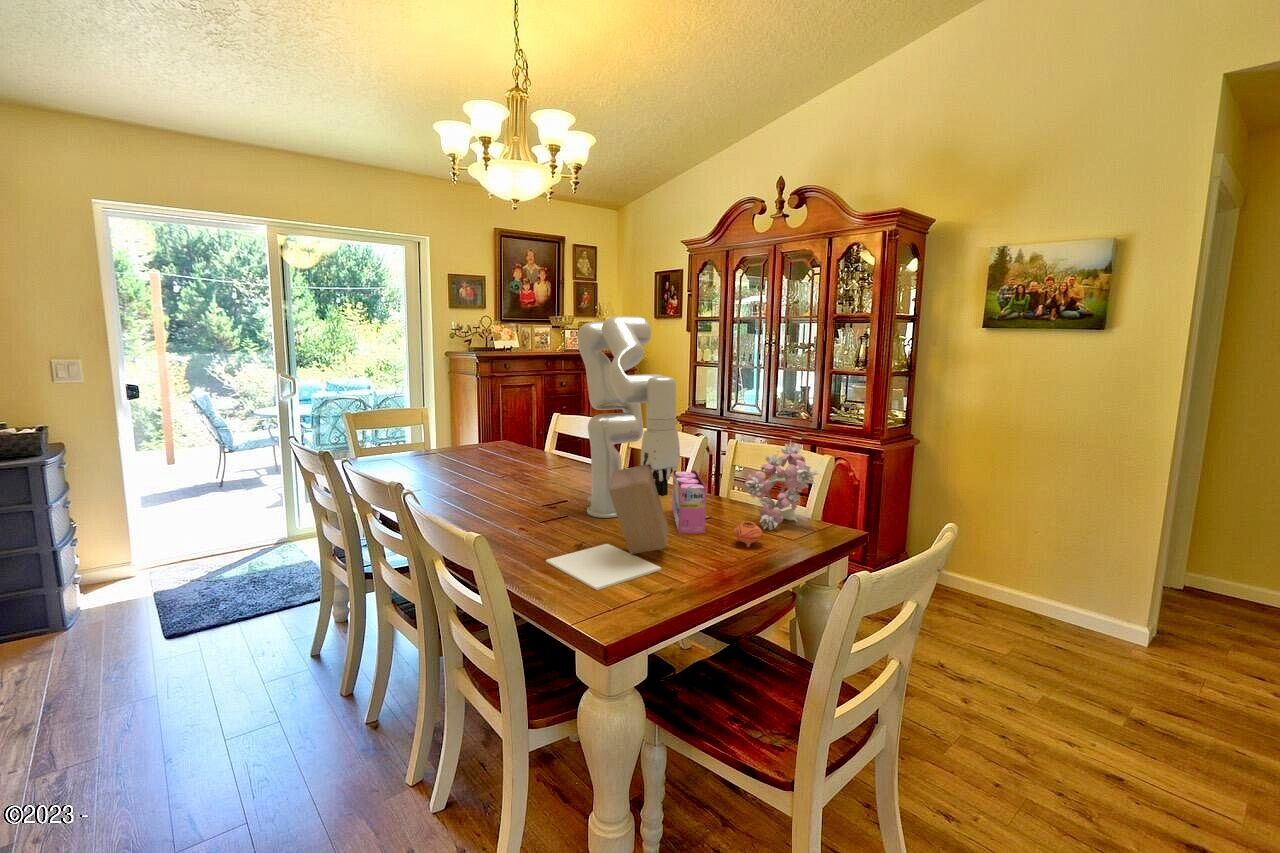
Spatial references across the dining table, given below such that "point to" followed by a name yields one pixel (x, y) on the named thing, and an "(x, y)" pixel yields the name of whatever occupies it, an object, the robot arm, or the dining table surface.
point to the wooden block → (639, 509)
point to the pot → (748, 533)
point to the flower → (790, 496)
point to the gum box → (689, 502)
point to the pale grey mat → (603, 566)
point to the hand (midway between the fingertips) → (661, 494)
